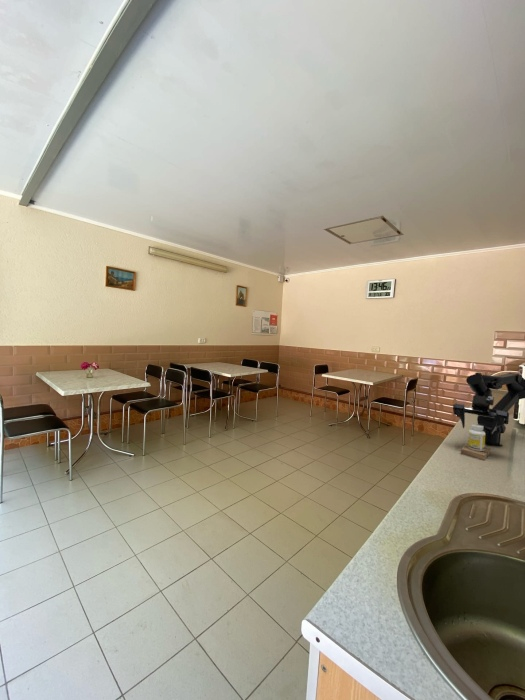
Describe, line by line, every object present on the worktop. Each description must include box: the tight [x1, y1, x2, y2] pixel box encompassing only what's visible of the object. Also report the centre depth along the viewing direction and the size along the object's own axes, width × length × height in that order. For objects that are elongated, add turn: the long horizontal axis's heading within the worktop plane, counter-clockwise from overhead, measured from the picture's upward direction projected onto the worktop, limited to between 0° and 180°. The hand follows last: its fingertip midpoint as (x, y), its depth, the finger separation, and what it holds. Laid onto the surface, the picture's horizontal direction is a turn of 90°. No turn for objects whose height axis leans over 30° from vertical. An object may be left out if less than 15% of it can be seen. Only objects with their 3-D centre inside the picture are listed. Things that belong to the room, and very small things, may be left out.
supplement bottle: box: [468, 423, 486, 451], centre depth 122 cm, size 5×5×10 cm
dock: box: [460, 442, 491, 461], centre depth 122 cm, size 10×8×2 cm
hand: (476, 430), depth 121 cm, fingers open, 9 cm apart
